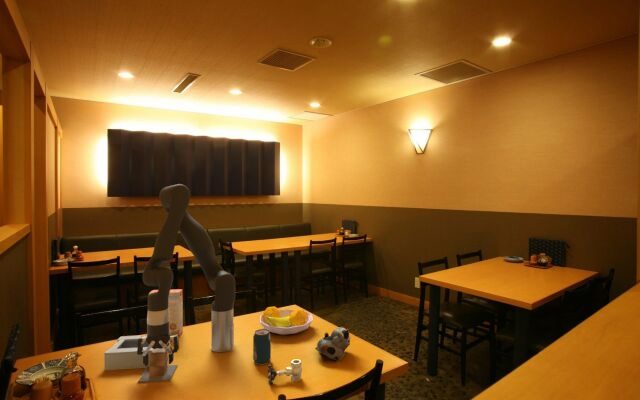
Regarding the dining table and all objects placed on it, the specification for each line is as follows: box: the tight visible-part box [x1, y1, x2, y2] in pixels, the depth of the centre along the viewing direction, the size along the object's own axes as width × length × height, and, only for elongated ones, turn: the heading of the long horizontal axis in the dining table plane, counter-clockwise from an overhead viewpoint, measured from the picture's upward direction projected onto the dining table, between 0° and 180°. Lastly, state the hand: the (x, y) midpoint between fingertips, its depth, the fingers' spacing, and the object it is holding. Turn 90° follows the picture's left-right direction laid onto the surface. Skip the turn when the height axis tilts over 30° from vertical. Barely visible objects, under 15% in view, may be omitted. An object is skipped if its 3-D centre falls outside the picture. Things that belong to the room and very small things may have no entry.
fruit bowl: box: [259, 306, 314, 336], centre depth 180 cm, size 28×27×11 cm
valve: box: [267, 358, 303, 385], centre depth 132 cm, size 7×7×12 cm
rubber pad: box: [137, 364, 178, 384], centre depth 136 cm, size 11×11×1 cm
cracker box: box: [148, 288, 184, 337], centre depth 173 cm, size 14×6×21 cm, turn 95°
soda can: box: [252, 328, 272, 366], centre depth 146 cm, size 7×7×12 cm
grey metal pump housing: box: [315, 327, 352, 362], centre depth 153 cm, size 15×12×14 cm
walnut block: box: [149, 348, 168, 377], centre depth 135 cm, size 5×5×8 cm
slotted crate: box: [103, 334, 171, 371], centre depth 148 cm, size 20×16×7 cm
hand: (158, 364), depth 135 cm, fingers open, 8 cm apart
